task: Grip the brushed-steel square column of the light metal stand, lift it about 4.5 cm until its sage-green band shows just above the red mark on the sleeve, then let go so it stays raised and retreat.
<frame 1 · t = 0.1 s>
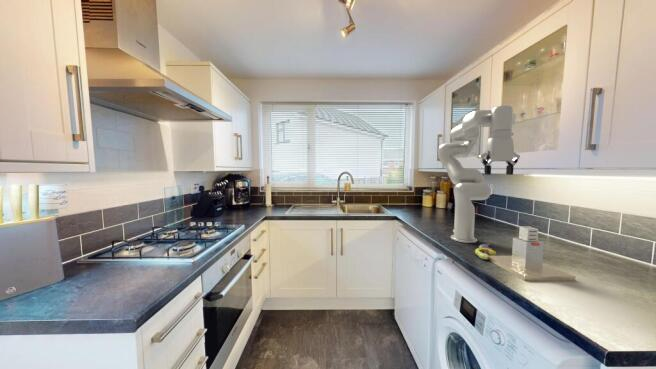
hand: (498, 174, 106), 37 cm above the worktop, fingers open, 9 cm apart
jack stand: (526, 268, 94), on the worktop
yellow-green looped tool: (485, 252, 113), on the worktop, touching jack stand
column: (527, 246, 94), point 9 cm above the worktop, slide at 0.0 cm
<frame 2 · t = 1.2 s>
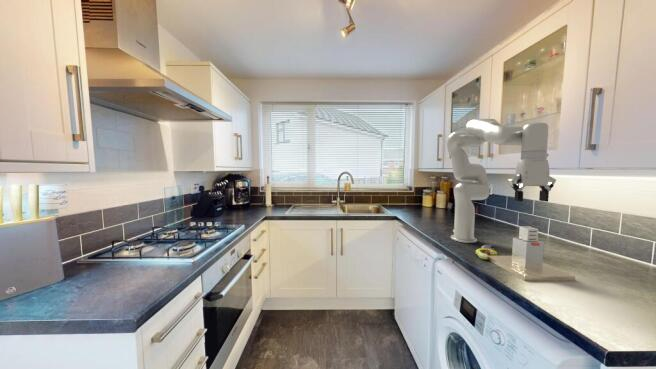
hand: (531, 201, 92), 27 cm above the worktop, fingers open, 9 cm apart
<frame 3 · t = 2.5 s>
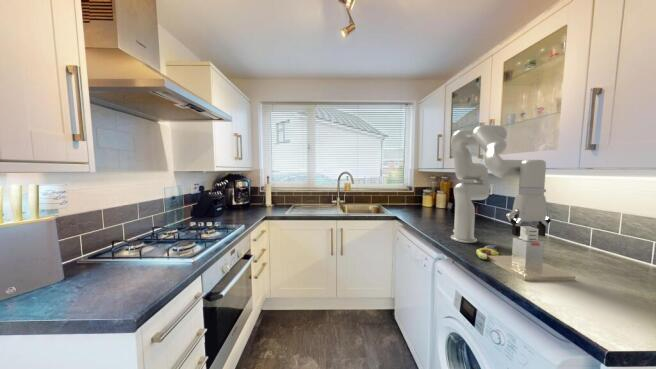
hand: (528, 235, 93), 13 cm above the worktop, fingers open, 9 cm apart
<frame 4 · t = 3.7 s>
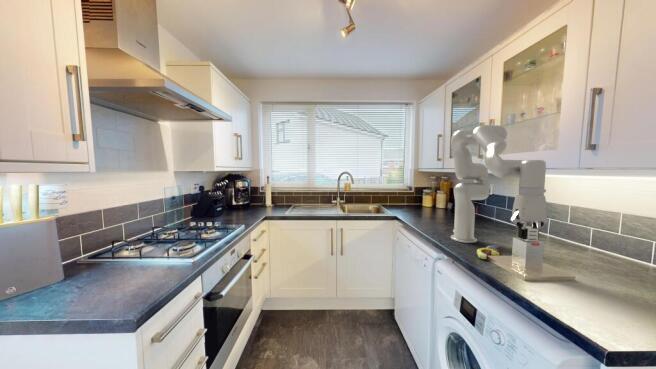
hand: (528, 238, 93), 12 cm above the worktop, fingers closed on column, 4 cm apart
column: (527, 246, 94), point 9 cm above the worktop, slide at 0.0 cm, touching gripper
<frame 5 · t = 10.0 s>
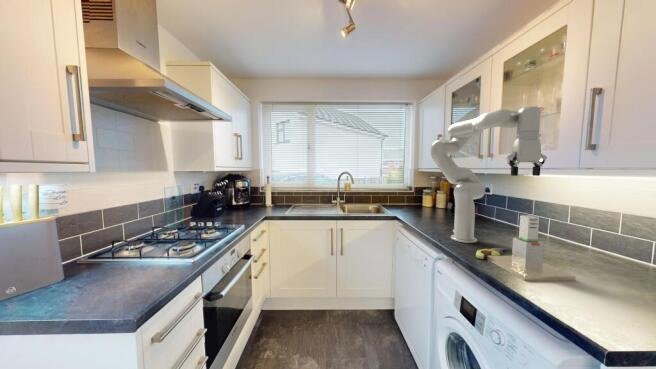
hand: (525, 175, 106), 36 cm above the worktop, fingers open, 9 cm apart
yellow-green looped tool: (493, 255, 110), on the worktop, touching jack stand
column: (528, 234, 93), point 14 cm above the worktop, slide at 4.5 cm
at the end: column slide at 4.5 cm; the gripper is holding nothing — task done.
